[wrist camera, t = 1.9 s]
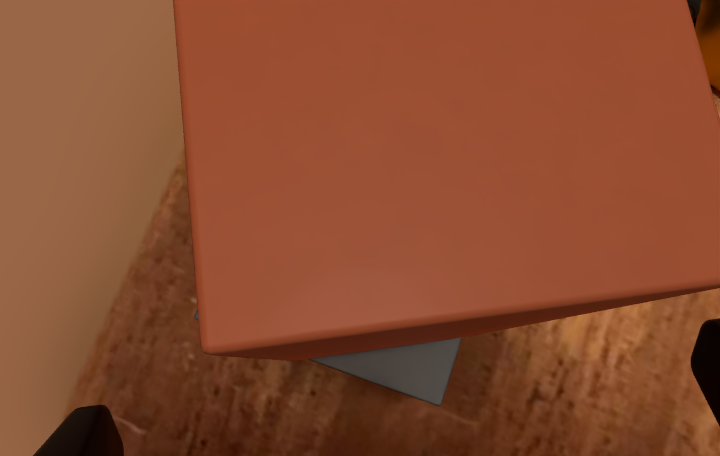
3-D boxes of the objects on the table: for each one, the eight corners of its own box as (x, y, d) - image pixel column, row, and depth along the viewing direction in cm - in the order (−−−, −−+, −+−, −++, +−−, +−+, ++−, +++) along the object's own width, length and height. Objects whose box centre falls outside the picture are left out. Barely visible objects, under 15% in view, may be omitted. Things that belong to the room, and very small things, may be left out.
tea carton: (422, 131, 18) (605, -313, 6) (456, 338, 17) (768, 279, 5) (267, 148, 17) (147, -288, 6) (291, 361, 16) (199, 356, 5)
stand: (414, 396, 21) (441, 407, 16) (223, 328, 21) (193, 318, 16) (473, 211, 23) (513, 170, 18) (295, 149, 23) (286, 90, 18)
